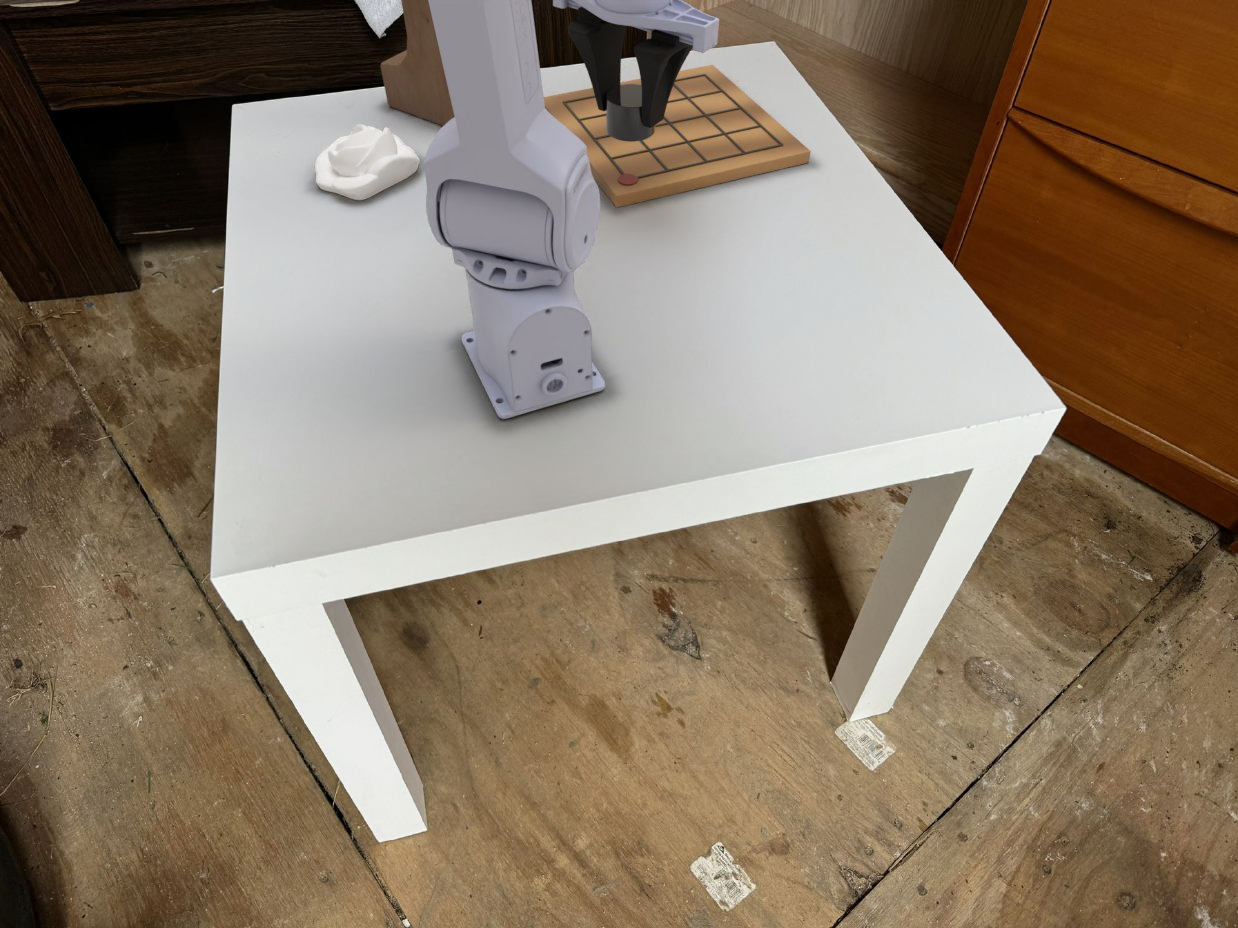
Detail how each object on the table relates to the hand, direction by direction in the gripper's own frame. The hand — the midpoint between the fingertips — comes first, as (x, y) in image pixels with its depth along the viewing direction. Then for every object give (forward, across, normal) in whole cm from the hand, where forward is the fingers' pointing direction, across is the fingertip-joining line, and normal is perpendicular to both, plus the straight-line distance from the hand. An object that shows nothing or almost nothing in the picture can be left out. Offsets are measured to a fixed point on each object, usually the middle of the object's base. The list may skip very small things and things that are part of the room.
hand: (630, 114), depth 74 cm
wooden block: (+8, +25, -1) cm, 27 cm away
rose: (+8, +21, +12) cm, 26 cm away
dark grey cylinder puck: (+1, 0, 0) cm, 1 cm away
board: (+8, +3, -11) cm, 14 cm away
